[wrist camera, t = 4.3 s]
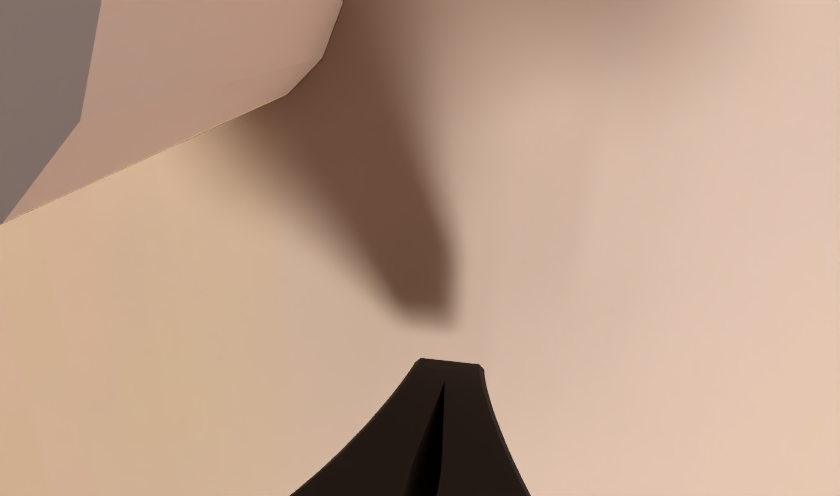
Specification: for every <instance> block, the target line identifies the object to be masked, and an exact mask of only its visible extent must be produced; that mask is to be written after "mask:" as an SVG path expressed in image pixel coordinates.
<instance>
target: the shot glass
mask: <svg viewBox="0 0 840 496" xmlns="http://www.w3.org/2000/svg"><path fill="white" fill-rule="evenodd" d="M342 4H343V0H0V224H3V223H5V222H7V221H10V220H12V219H14V218H16V217H18V216H21V215H23V214H25V213H27V212H29V211H32V210H34V209H36V208H38V207H40V206H43V205H45V204H47V203H49V202H51V201H54V200H56V199H58V198H60V197H63V196H65V195H67V194H69V193H71V192H74V191H76V190H78V189H80V188H82V187H85V186H87V185H89V184H91V183H93V182H96V181H98V180H100V179H102V178H104V177H107V176H109V175H111V174H113V173H115V172H118V171H120V170H122V169H124V168H126V167H129V166H131V165H133V164H135V163H137V162H140V161H142V160H144V159H146V158H148V157H151V156H153V155H155V154H157V153H159V152H162V151H164V150H166V149H168V148H171V147H173V146H175V145H177V144H179V143H182V142H184V141H186V140H188V139H190V138H193V137H195V136H197V135H199V134H201V133H204V132H206V131H208V130H210V129H212V128H215V127H217V126H219V125H221V124H223V123H226V122H228V121H230V120H232V119H234V118H237V117H239V116H241V115H243V114H245V113H248V112H250V111H252V110H254V109H256V108H259V107H261V106H263V105H265V104H268V103H270V102H272V101H274V100H276V99H279V98H281V97H283V96H285V95H287V94H288V93H289V92H290V91H291V90H292V89H293V88H294V87H295V86H296V85H297V84H298V83H299V82H300V81H301V80H302V79H303V78H304V77H305V76H306V74H307V73H308V72H309V71H310V70H311V69H312V68H313V67H314V66H315V65H316V64H317V63H318V62H319V61H320V60H321V59H322V57H323V55H324V52H325V49H326V47H327V44H328V41H329V39H330V36H331V33H332V31H333V28H334V25H335V23H336V20H337V17H338V15H339V12H340V9H341V7H342Z"/></svg>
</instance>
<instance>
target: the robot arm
mask: <svg viewBox="0 0 840 496" xmlns="http://www.w3.org/2000/svg"><path fill="white" fill-rule="evenodd" d="M290 496H531V495H530V493H529V491H528V489H527V487H526V485H525V484H524V482H523V480H522V478H521V475H520V473H519V471H518V469H517V467H516V465H515V463H514V461H513V459H512V456H511V454H510V452H509V450H508V447H507V445H506V443H505V440H504V437H503V435H502V432H501V430H500V427H499V425H498V422H497V420H496V417H495V414H494V411H493V408H492V405H491V401H490V398H489V395H488V391H487V387H486V382H485V375H484V369H483V368H482V367H481V366H480V365H479V364H471V363H462V362H453V361H443V360H434V359H425V358H420V359H419V360H418V361H416V362H415V363H414V365H413V367H412V368H411V370H410V371H409V373H408V374H407V375H406V377H405V378H404V380H403V381H402V382H401V384H400V385H399V386H398V388H397V389H396V390H395V391H394V393H393V394H392V395H391V396H390V398H389V399H388V400H387V401H386V402H385V404H384V405H383V406H382V407H381V408H380V409H379V411H378V412H377V413H376V414H375V415H374V416H373V418H372V419H371V420H370V421H369V422H368V423H367V424H366V425H365V426H364V427H363V429H362V430H361V431H360V432H359V433H358V434H357V435H356V436H355V437H354V438H353V439H352V440H351V441H350V442H349V443H348V444H347V445H346V446H345V447H344V448H343V449H342V450H341V451H340V452H339V453H338V454H337V455H336V456H335V457H334V458H333V459H332V460H331V461H330V462H328V463H327V464H326V465H325V466H324V467H323V468H322V469H321V470H320V471H319V472H317V473H316V474H315V475H314V476H313V477H312V478H310V479H309V480H308V481H307V482H306V483H305V484H303V485H302V486H301V487H300V488H299V489H297V490H296V491H295V492H294V493H292V494H291V495H290Z"/></svg>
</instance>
